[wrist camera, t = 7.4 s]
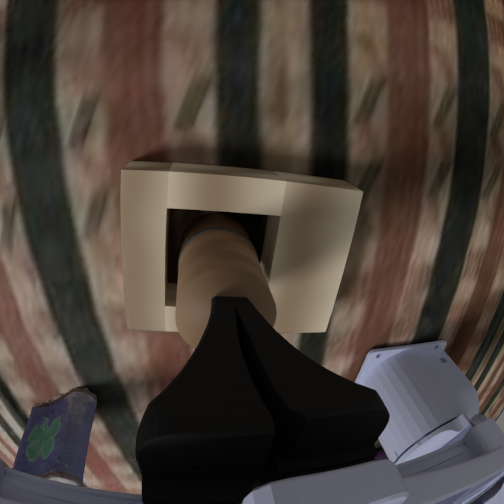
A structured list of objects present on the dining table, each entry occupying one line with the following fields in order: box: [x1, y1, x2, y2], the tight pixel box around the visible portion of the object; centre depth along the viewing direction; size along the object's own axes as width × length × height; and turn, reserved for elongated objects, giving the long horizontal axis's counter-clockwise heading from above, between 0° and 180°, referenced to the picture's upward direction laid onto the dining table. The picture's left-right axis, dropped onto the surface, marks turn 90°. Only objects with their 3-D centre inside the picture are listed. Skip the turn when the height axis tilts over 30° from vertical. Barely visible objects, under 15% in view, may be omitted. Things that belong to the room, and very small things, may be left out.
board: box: [121, 161, 363, 333], centre depth 18 cm, size 12×9×2 cm
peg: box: [175, 213, 277, 349], centre depth 16 cm, size 4×4×7 cm
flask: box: [12, 388, 97, 487], centre depth 18 cm, size 9×3×11 cm, turn 117°
